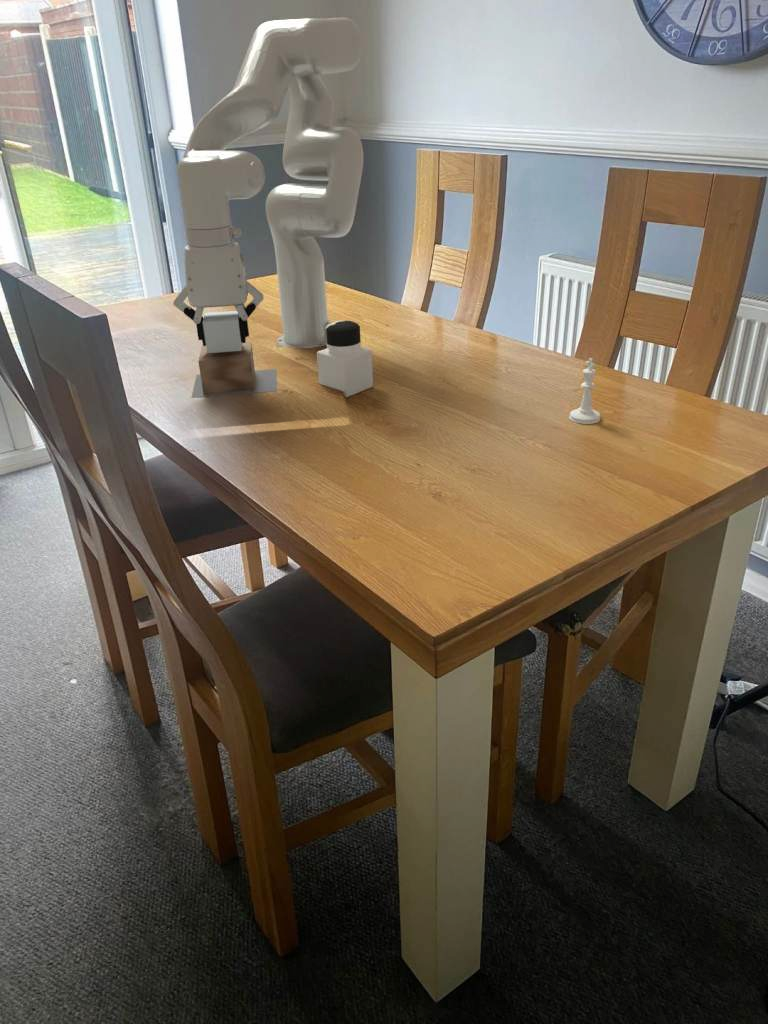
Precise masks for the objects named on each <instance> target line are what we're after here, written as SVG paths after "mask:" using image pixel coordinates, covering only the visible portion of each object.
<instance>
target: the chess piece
mask: <svg viewBox="0 0 768 1024" xmlns="http://www.w3.org/2000/svg"><path fill="white" fill-rule="evenodd" d="M593 360H594V359H593V358H591V357H590V358H588V360H586V361H585V365H586V366H587V368H585V369H583V370H582V374H583V379H584V382H582V383H581V385H580V386H581V388H583V389H584V390H583V395H582V401H581V404H580V406H579V407H578V408H576V409H573V410H571V411H570V413H569V416H568V417H569V420H570V421H572V422H573V423H576V424H582V425H592V424H593V425H594V424H596V423H598V422H600V421H601V414H600V412H599V411H598V410H595V409H594V408H593V407H592V394H591V393H592V390H591V389H594V388H595V383H593V380H594V377H595V376H596V373H597V371H596V370H595V369H594V368H595V366H596V363H594V362H593Z"/></svg>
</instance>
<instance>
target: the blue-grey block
mask: <svg viewBox="0 0 768 1024" xmlns="http://www.w3.org/2000/svg"><path fill="white" fill-rule="evenodd" d="M239 317H240V315H239V314H238V312H237V310H229V311H228V310H227V311H215V312H213V311H212V312H211V311H210V312H205V313H204V316H203V328H204V335H205V342H206V348H207V353H218V352H231V351H242V342H241V336H240V329H239Z"/></svg>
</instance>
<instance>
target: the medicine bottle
mask: <svg viewBox="0 0 768 1024" xmlns="http://www.w3.org/2000/svg"><path fill="white" fill-rule="evenodd" d="M326 342H327V345H326V348H324V349H322V350H318V351H317V352H316V361H317V362H316V363H317V375H318V384H319V385H323V386H326V387H328V388H331V389H335V390H338V391H340V392H342V395H343V397H344V398H349V397H351V396H354V395H356V394H359V393H361V392H364V391H366V390H368V389H371V388H373V386H374V378H373V377H374V376H373V375H374V374H373V373H374V372H373V357H372V356H373V355H372V353H373V352H372V349H370V348H367V347H364V346H361V345H362V342H361V326H360V324H359V323H357V322H355V321H352V320H336V321H333V322H330V324H329V325H327V327H326Z"/></svg>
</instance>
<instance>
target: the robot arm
mask: <svg viewBox="0 0 768 1024" xmlns="http://www.w3.org/2000/svg"><path fill="white" fill-rule="evenodd" d="M363 43H364V42H363V37H362V34H361V31H360V29H359V27H358V25H357V24H356V23H355V22H354V21H353V20H352V19H351V18H349V17H331V18H312V17H311V18H310V17H309V18H296V19H295V18H294V19H278V20H277V19H275V20H270V21H266V22H264V23H261V24H260V25H259V26H258V27H257V28H256V30H255V31H254V33H253V35H252V38H251V40H250V43H249V46H248V48H247V51H246V53H245V55H244V59H243V61H242V64H241V67H240V70H239V72H238V74H237V78H236V79H235V83H234V86H233V88H232V89H231V91H230V92H229V93H228V94H227V95H225V96H224V97H223V98H221V99H220V100H219V101H218V102H217V103H216V104H215V105H214V106H213V107H212V108H211V109H210V110H208V111H207V112H206V113H205V114H204V115H203V116H202V117H201V118H200V119H199V121H198V122H197V123H196V125H195V126H194V128H193V130H192V132H191V134H190V137H189V139H188V142H187V145H186V147H185V150H184V153H183V157H182V158H181V159H180V160H179V161H178V162H177V165H176V171H177V173H176V174H177V180H178V186H179V193H180V199H181V205H182V212H183V219H184V225H185V233H186V237H187V245H185V247H184V275H185V284H186V285H185V286H184V287H183V288H182V290H181V291H180V292H179V294H178V295H177V296H176V297H175V299H174V300H173V301H172V303H173V306H174V307H176V309H178V310H179V311H181V312H182V313H183V314H184V315H185V316H187V317H188V318H189V319H190V320H191V321H193V323H194V324H195V325H196V332H197V333H196V334H197V337H198V338H197V339H198V341H201V342H202V346H206V342H205V335H204V328H203V319H204V316H203V313H204V310H205V309H206V308H220V307H234V308H235V309H236V310H235V311H237V312H238V314H239V315H240V317H239V329H240V336H241V342H242V343H246V340H247V338H248V337H250V333H249V332H250V331H249V323H248V319H249V317H250V316H251V315H252V314H253V313H254V312H255V310H256V308H257V307H258V306H260V304H261V303H262V302H263V300H264V294H263V293H262V292H261V291H259V289H257V288H256V287H255V286H254V285H253V284H251V283H250V282H249V281H248V280H247V275H246V269H245V263H244V258H243V253H242V251H241V247H240V244H239V243H238V242H236V241H235V240H236V238H239V237H240V238H241V237H242V230H241V228H240V227H239V228H237V227H234V225H232V224H233V223H232V216H231V210H230V200H247V199H251V198H253V197H256V196H257V195H258V194H259V193H260V191H262V189H263V187H264V185H265V181H266V180H265V179H266V170H265V166H264V165H263V163H262V161H261V159H260V158H258V157H257V156H256V155H255V154H253V153H252V152H249V151H245V150H226V149H227V148H228V147H229V146H230V145H231V144H232V143H234V142H236V141H237V140H239V139H240V138H243V137H245V136H247V135H250V134H251V133H254V132H257V131H259V130H261V129H263V128H264V127H266V126H268V125H270V124H271V123H272V122H274V121H275V120H276V119H277V118H278V116H279V114H280V112H281V108H282V106H283V104H284V100H285V97H286V94H287V92H289V101H290V102H289V103H290V104H289V111H288V119H287V124H286V130H285V137H284V143H283V148H282V149H283V151H282V165H283V170H284V171H285V173H286V174H287V175H288V176H289V177H290V178H292V179H293V178H294V179H297V180H304V181H319V182H320V181H321V182H322V181H323V182H324V181H326V182H327V181H328V182H327V184H318V183H315V184H314V183H291V182H290V183H284V184H280V185H277V186H275V187H274V188H272V189H271V190H270V192H269V193H268V195H267V197H266V200H265V214H266V219H267V222H268V226H269V231H270V233H271V238H272V241H273V246H274V252H275V253H274V255H275V262H276V275H277V285H278V294H279V304H280V313H281V326H282V333H283V334H282V335H280V336H279V337H278V338H277V339H276V346H277V347H279V348H281V347H286V348H291V349H310V348H311V349H312V348H318V347H323V346H327V342H326V327H327V325H329V324H330V323H331V322H330V318H329V317H328V305H327V291H326V277H325V275H326V274H325V261H324V260H325V259H324V256H323V253H322V250H321V248H320V246H319V244H318V242H317V241H316V239H315V237H316V238H329V239H331V238H332V239H334V238H336V239H337V238H342V237H345V236H346V235H347V234H348V233H349V232H350V231H351V229H352V226H353V223H354V220H355V215H356V210H357V204H358V197H359V193H360V192H359V191H360V186H361V182H362V181H361V180H362V174H363V167H364V149H363V147H364V146H363V144H362V140H361V138H360V135H359V134H358V133H357V131H356V130H354V129H352V128H350V127H345V126H333V120H334V112H335V104H334V99H333V98H332V94H331V93H330V90H328V87H327V86H326V85H325V83H324V82H323V80H322V79H321V77H320V75H332V74H338V73H344V72H350V71H352V70H354V69H355V67H356V66H357V65H358V64H359V63H360V60H361V58H362V53H363ZM248 294H249V295H251V296H252V300H251V301H250V302H249V303H248V304H247V305H246V306H245V303H246V302H247V300H248V296H249V295H248ZM186 299H188V303H189V305H190V306H189V305H188V304H187V303H186V302H185V300H186ZM194 308H196V309H194Z"/></svg>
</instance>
